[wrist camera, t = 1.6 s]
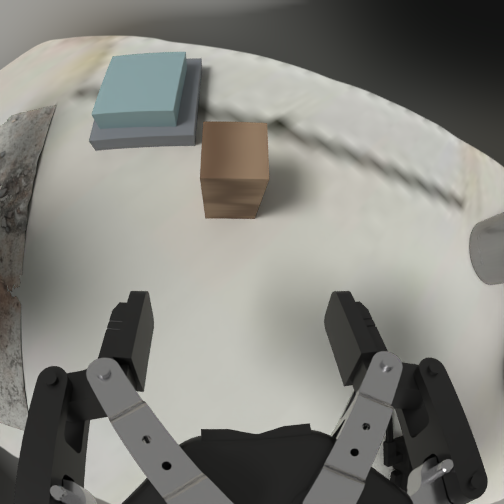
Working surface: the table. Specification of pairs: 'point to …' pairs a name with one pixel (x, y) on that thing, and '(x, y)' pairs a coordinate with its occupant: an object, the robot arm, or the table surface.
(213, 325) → the table surface
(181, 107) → the tower base slab
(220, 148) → the walnut pillar
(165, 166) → the table surface
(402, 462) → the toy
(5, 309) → the valve
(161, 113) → the tower top slab
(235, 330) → the table surface
